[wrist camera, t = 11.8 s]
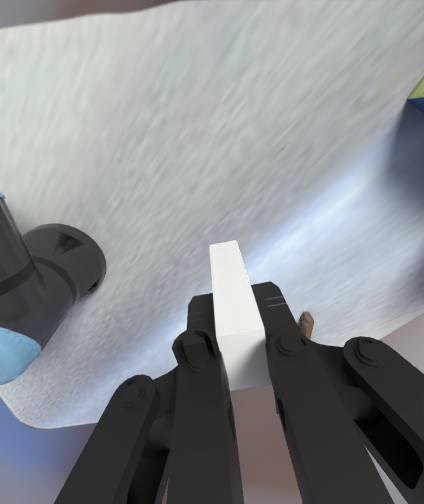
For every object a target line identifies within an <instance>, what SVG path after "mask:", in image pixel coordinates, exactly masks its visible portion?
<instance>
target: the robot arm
mask: <svg viewBox="0 0 424 504" xmlns="http://www.w3.org/2000/svg"><path fill="white" fill-rule="evenodd" d="M4 199H5V196H4V195H3V194H2V193H0V385H2V384H6V383H8V382H11V381H13V380H14V379H16V378H17V377H19V376H20V375H21V374H22V373H23V372H24V371H25V370H26V369H27V367H28V366H29V365H30V364H31V363H32V361H33V360H34V359H35V358H37V357H38V356H39V355H40V353H41V351H42V350H43V348H44V347H45V345H46V344H47V342H48V341H49V339H50V338H51V337H52V335H53V334H54V332H55V331H56V329H57V328H58V326H59V325H60V323H61V322H62V321H63V319H64V318H65V316H66V315H67V313H68V312H69V310H70V309H71V308H72V306H73V305H74V304H76V303H77V302H79V301H81V300H82V299H84V298H85V297H87V296H89V295H90V294H92V293H93V292H94V291H95V290H96V289H97V288H98V287H99V285H100V284H101V282H102V280H103V279H104V277H105V274H106V260H105V257H104V254H103V252H102V250H101V249H100V247H99V246H98V245H97V243H96V242H95V241H94V240H93V239H92V238H91V237H89V236H88V235H87V234H85V233H84V232H82V231H80V230H78V229H76V228H73V227H71V226H67V225H63V224H46V225H41V226H39V227H36V228H35V229H33V230H31V231H30V232H28V233H26V234H25V235H24V236H23V237H22V236H21V234H20V232H19V230H18V228H17V226H16V224H15V221H14V219H13V217H12V215H11V213H10V211H9V209H8V206H7V204H6V202H5V200H4ZM209 246H210V260H211V273H212V287H213V293H210V294H204V295H199V296H193V298H192V300H191V301H190V303H189V305H188V317H187V330H186V331H184V332H183V333H181V334H180V335H179V336H178V337H177V338H176V339H175V341H174V343H173V346H172V350H173V353H174V355H175V358H176V360H177V363H178V366H176V367H175V368H174V369H173V370H172V371H170V372H168V373H167V374H165V375H162V376H160V377H158V378H156V379H154V380H152V379H151V378H150V376H146V375H135V376H133V377H131V378H129V379H127V380H126V381H124V382H123V383H122V384H121V385H120V386H119V387H118V388H117V390H116V391H115V393H114V394H113V396H112V398H111V399H110V401H109V403H108V405H107V407H106V409H105V411H104V412H103V414H102V416H101V418H100V420H99V422H98V423H97V425H96V427H95V429H94V431H93V433H92V434H91V436H90V438H89V440H88V442H87V444H86V445H85V447H84V449H83V451H82V453H81V455H80V457H79V458H78V460H77V462H76V464H75V466H74V467H73V469H72V471H71V473H70V475H69V477H68V478H67V480H66V482H65V484H64V486H63V488H62V490H61V491H60V493H59V495H58V497H57V499H56V501H55V502H54V504H162V500H163V496H164V493H165V489H166V485H167V481H168V478H169V481H168V491H167V504H244V499H243V489H242V481H241V472H240V463H239V455H238V446H237V438H236V430H235V421H234V413H233V406H232V402H231V398H230V391H233V390H239V389H244V388H251V387H257V386H263V385H270V384H271V382H272V386H273V389H274V395H275V402H276V411H277V414H279V416H280V420H281V424H282V428H283V431H284V435H285V439H286V442H287V446H288V449H289V453H290V457H291V461H292V464H293V469H294V472H295V476H296V479H297V483H298V487H299V491H300V494H301V498H302V502H303V504H394V502H393V500H392V498H391V496H390V494H389V492H388V490H387V489H386V487H385V485H384V483H383V481H382V479H381V477H380V475H379V473H378V471H377V469H376V467H375V465H374V463H373V461H372V459H371V457H370V455H369V453H368V452H367V450H366V448H367V449H368V450H369V452H370V453H371V455H372V456H373V457H374V459H375V460H376V461H377V463H378V464H379V465H380V466H381V468H382V469H383V471H384V472H385V473H386V474H387V476H388V477H389V479H390V480H391V481H392V482H393V484H394V485H395V487H396V488H397V489H398V491H399V492H400V493H401V495H402V496H403V497H404V499H405V500H406V501H407V503H408V504H424V374H423V373H422V372H420V371H419V370H418V369H417V368H416V367H414V366H413V365H412V364H411V363H409V362H408V361H407V360H406V359H404V358H403V357H402V356H401V355H400V354H398V353H397V352H396V351H395V350H393V349H392V348H391V347H390V346H388V345H386V344H385V343H383V342H382V341H379V340H376V339H374V338H371V337H361V336H360V337H355V338H351V339H350V340H348V341H347V342H346V343H345V345H344V347H337V346H327V345H322V344H318V343H315V342H313V341H311V340H309V339H308V338H307V337H306V336H305V335H303V334H302V332H301V331H300V329H299V327H298V325H297V323H296V321H295V319H294V317H293V315H292V313H291V311H290V309H289V307H288V305H287V304H286V301H285V299H284V297H283V295H282V293H281V291H280V289H279V287H278V286H276V285H275V284H274V283H272V282H271V281H270V282H265V283H260V284H254V285H250V282H249V279H248V275H247V272H246V269H245V266H244V263H243V260H242V256H241V253H240V250H239V247H238V244H237V241H236V240H234V241H229V242H224V243H219V244H213V245H209ZM364 445H365V446H364ZM365 447H366V448H365Z"/></svg>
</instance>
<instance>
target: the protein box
mask: <svg viewBox="0 0 424 504" xmlns="http://www.w3.org/2000/svg"><path fill="white" fill-rule="evenodd" d="M408 100H409V101H411V102H412V103H413V104H414V105H416V106H417V107H418V108H419V109H420V110H422V111H423V112H424V78H423V79H422V80H421V82H420V83H419V84H418V86H417V87H416V88H415V89H414V91H413V92H412V93H411V95H410V96H409V97H408Z"/></svg>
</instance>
